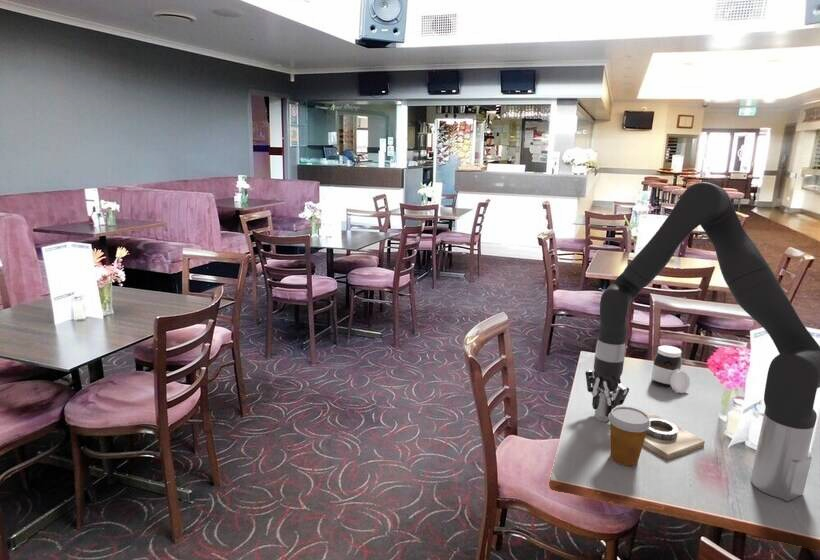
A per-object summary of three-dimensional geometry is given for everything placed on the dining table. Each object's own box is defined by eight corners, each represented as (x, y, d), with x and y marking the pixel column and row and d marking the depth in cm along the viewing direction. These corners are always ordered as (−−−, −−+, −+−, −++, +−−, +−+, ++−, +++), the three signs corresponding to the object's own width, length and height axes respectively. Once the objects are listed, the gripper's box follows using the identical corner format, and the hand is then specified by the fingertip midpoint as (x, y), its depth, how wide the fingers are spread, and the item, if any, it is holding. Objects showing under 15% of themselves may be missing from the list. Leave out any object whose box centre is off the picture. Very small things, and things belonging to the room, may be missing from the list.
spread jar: (657, 374, 181) (662, 342, 178) (693, 384, 174) (699, 351, 171) (645, 386, 172) (650, 352, 169) (683, 397, 165) (689, 362, 162)
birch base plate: (704, 446, 139) (704, 440, 138) (667, 459, 133) (668, 454, 132) (651, 417, 153) (652, 412, 152) (616, 428, 146) (616, 423, 146)
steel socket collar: (683, 436, 141) (684, 429, 140) (662, 443, 137) (663, 437, 136) (657, 421, 148) (658, 415, 147) (636, 428, 144) (637, 422, 143)
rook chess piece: (611, 422, 149) (614, 396, 147) (594, 421, 150) (597, 394, 148) (609, 415, 154) (612, 389, 152) (592, 413, 154) (595, 387, 152)
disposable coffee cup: (647, 455, 134) (653, 411, 131) (641, 474, 126) (648, 429, 123) (607, 444, 139) (613, 401, 136) (599, 462, 131) (605, 417, 128)
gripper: (640, 363, 143) (632, 421, 147) (599, 344, 155) (593, 398, 159) (620, 368, 139) (612, 427, 144) (580, 348, 152) (574, 404, 156)
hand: (602, 412), depth 151 cm, fingers closed on rook chess piece, 4 cm apart
